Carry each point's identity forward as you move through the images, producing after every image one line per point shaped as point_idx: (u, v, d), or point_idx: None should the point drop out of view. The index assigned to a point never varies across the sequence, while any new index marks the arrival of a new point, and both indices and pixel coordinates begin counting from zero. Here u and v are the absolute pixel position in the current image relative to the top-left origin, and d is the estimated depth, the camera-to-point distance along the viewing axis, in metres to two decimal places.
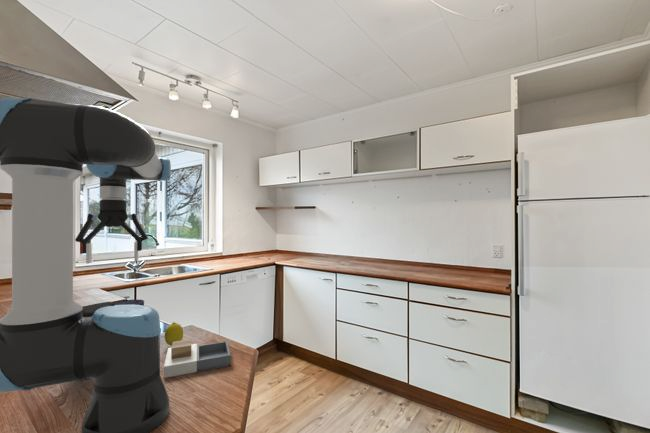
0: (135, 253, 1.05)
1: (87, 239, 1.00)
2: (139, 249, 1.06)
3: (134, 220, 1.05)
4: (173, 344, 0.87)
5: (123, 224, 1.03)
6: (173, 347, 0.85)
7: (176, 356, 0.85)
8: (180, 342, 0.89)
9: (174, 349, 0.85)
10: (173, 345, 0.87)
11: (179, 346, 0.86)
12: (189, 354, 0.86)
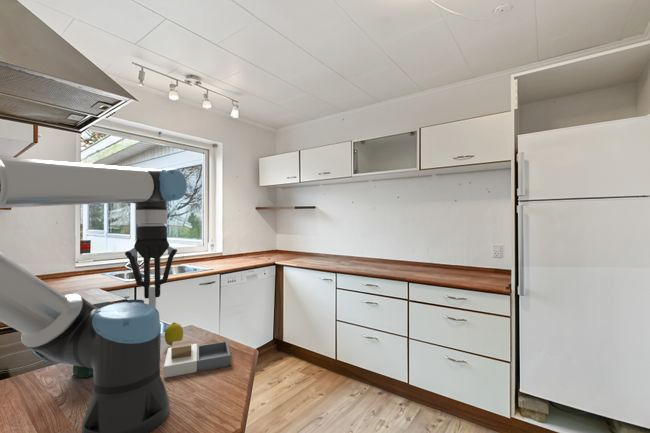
0: (153, 301, 0.84)
1: (147, 280, 0.84)
2: (157, 295, 0.85)
3: (170, 256, 0.86)
4: (173, 344, 0.87)
5: (157, 258, 0.84)
6: (173, 347, 0.85)
7: (176, 356, 0.85)
8: (180, 342, 0.89)
9: (174, 349, 0.85)
10: (173, 345, 0.87)
11: (179, 346, 0.86)
12: (189, 354, 0.86)
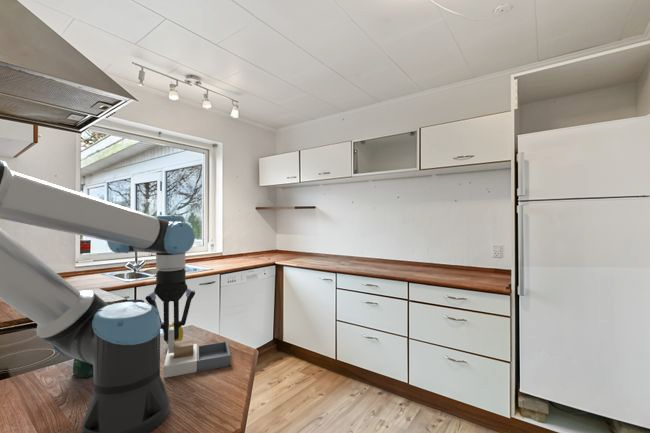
0: (172, 343, 0.86)
1: (166, 324, 0.85)
2: (176, 337, 0.87)
3: (189, 299, 0.88)
4: (175, 344, 0.87)
5: (176, 302, 0.86)
6: (175, 347, 0.85)
7: (178, 356, 0.85)
8: (182, 342, 0.89)
9: (176, 349, 0.85)
10: (176, 345, 0.87)
11: (181, 346, 0.86)
12: (191, 353, 0.87)
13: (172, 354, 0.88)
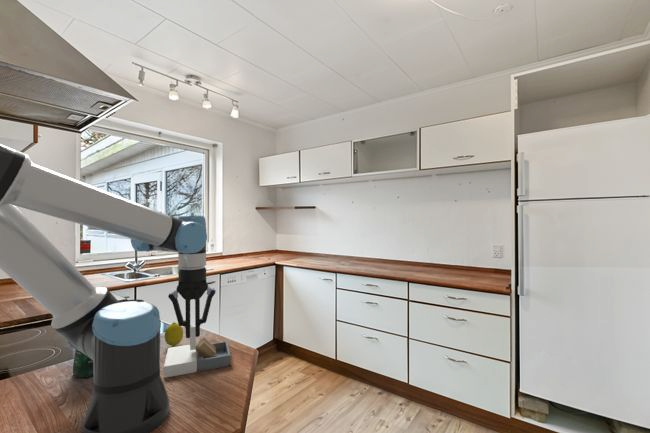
0: (193, 340, 0.88)
1: (188, 321, 0.88)
2: (198, 334, 0.89)
3: (209, 297, 0.90)
4: (204, 339, 0.91)
5: (197, 300, 0.88)
6: (205, 342, 0.88)
7: (200, 352, 0.87)
8: (208, 342, 0.92)
9: (204, 345, 0.88)
10: (205, 341, 0.90)
11: (208, 346, 0.89)
12: None
13: (172, 354, 0.88)
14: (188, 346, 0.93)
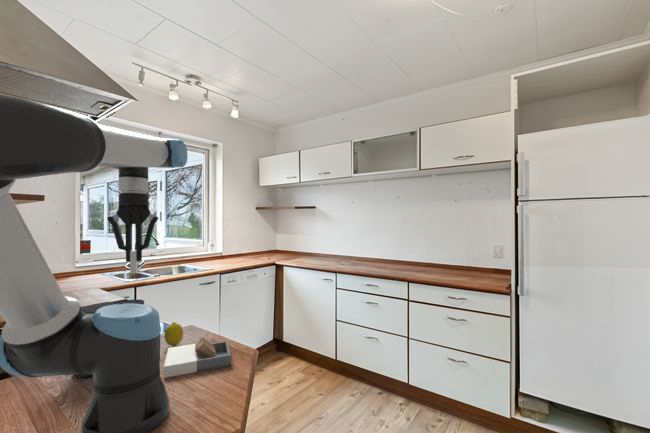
0: (134, 264, 0.88)
1: (128, 245, 0.88)
2: (139, 259, 0.90)
3: (151, 223, 0.90)
4: (203, 340, 0.90)
5: (138, 224, 0.89)
6: (204, 343, 0.88)
7: (199, 352, 0.87)
8: (208, 342, 0.92)
9: (204, 345, 0.88)
10: (204, 341, 0.90)
11: (208, 346, 0.89)
12: None
13: (172, 354, 0.88)
14: (188, 346, 0.93)
